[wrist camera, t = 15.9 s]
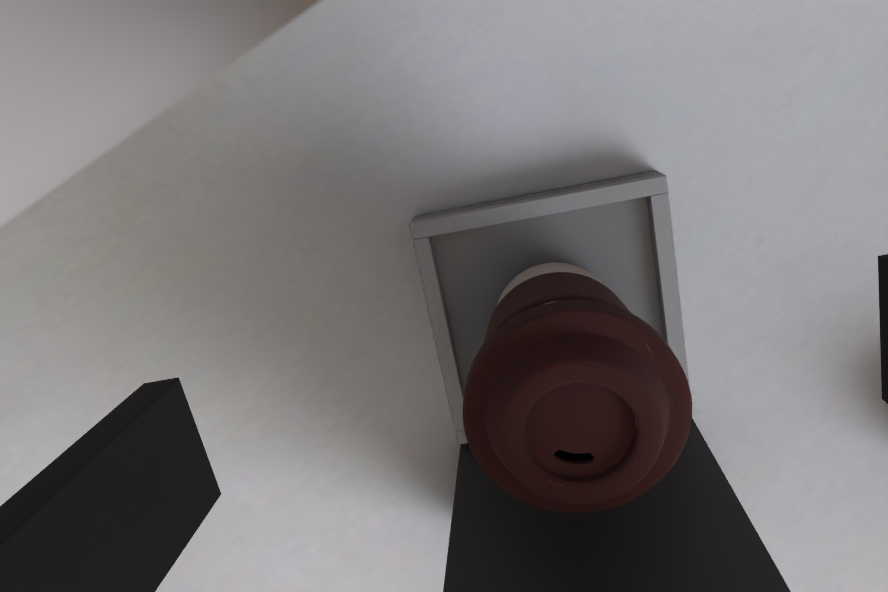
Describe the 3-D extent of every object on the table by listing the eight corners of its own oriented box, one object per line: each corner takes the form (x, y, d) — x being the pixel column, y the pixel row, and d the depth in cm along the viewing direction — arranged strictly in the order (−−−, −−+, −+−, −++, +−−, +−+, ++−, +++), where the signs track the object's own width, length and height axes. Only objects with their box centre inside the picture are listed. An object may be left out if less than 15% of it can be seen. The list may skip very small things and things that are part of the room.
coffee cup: (543, 205, 40) (567, 273, 26) (668, 305, 41) (756, 422, 27) (442, 326, 43) (413, 447, 29) (562, 416, 44) (591, 576, 30)
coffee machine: (414, 216, 42) (211, 517, 13) (656, 169, 40) (1075, 404, 11) (483, 529, 49) (452, 1204, 19) (694, 504, 47) (1019, 1216, 17)
